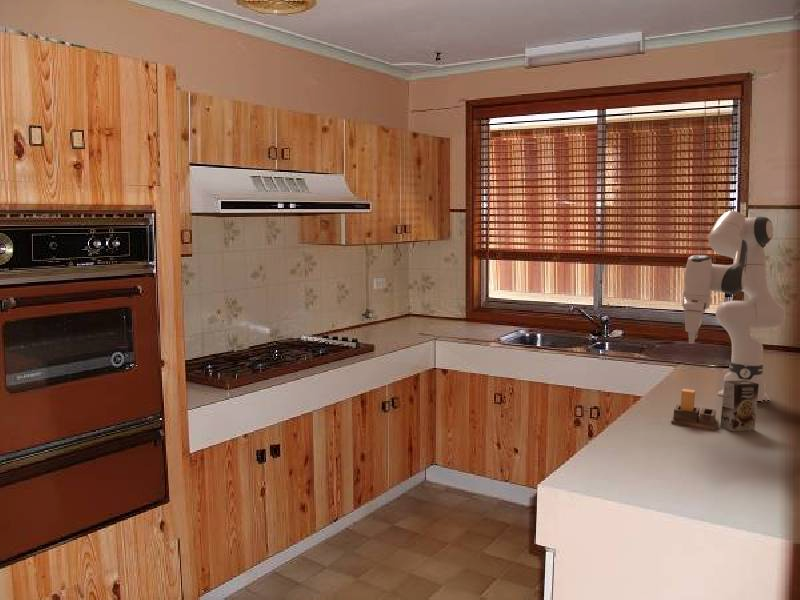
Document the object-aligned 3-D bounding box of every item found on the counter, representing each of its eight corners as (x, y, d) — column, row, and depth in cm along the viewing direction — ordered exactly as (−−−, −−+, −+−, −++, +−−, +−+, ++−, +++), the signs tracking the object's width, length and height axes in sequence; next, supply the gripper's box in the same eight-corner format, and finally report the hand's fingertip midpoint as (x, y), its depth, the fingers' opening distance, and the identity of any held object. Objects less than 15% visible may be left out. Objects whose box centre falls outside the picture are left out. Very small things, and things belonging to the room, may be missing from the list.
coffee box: (733, 432, 237) (736, 384, 235) (719, 426, 243) (723, 380, 241) (755, 430, 240) (759, 383, 238) (741, 424, 246) (745, 379, 244)
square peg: (681, 416, 251) (683, 388, 250) (693, 418, 249) (695, 390, 248) (679, 419, 247) (681, 390, 246) (691, 420, 246) (694, 392, 244)
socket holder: (675, 415, 256) (676, 403, 255) (717, 421, 249) (718, 409, 249) (671, 423, 245) (671, 411, 244) (715, 430, 239) (716, 417, 238)
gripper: (689, 297, 258) (686, 334, 260) (683, 305, 240) (679, 345, 242) (708, 299, 255) (704, 336, 257) (703, 307, 237) (699, 347, 239)
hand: (692, 341), depth 249 cm, fingers open, 8 cm apart
